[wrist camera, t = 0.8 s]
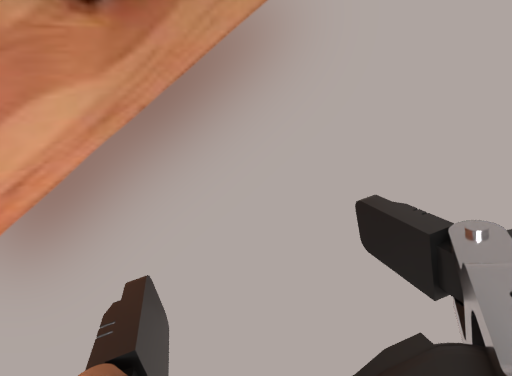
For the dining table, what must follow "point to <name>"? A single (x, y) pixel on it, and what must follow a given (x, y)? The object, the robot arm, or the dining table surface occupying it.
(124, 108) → the dining table surface
